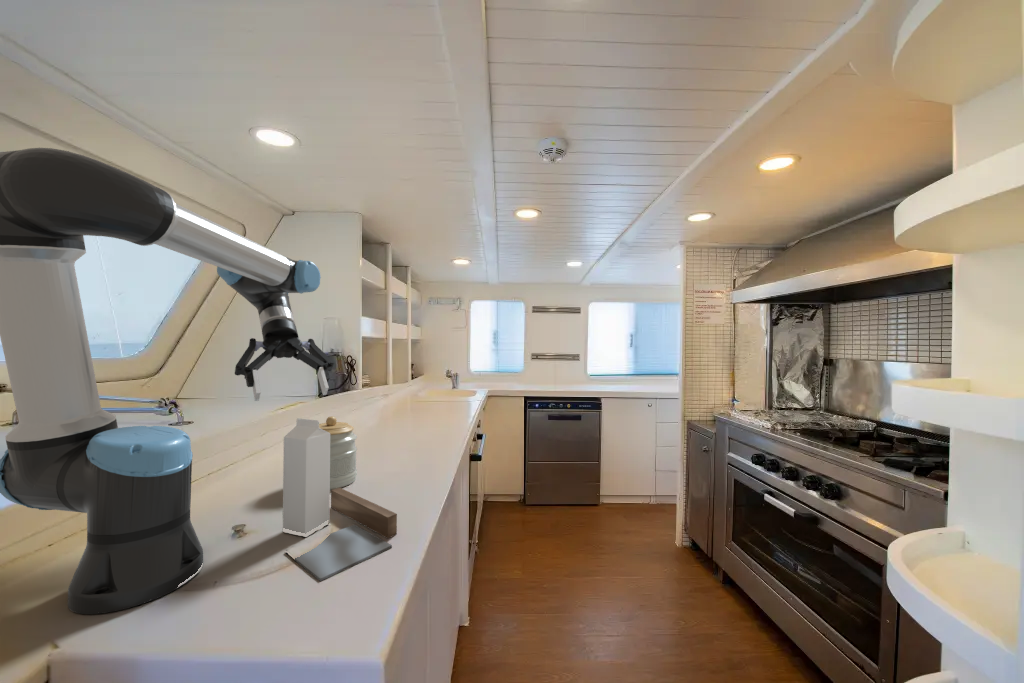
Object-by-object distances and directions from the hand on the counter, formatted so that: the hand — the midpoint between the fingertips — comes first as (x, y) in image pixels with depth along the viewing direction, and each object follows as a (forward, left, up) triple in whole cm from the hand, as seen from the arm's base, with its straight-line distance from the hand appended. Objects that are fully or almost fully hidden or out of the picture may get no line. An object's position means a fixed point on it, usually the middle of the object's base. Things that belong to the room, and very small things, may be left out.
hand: (293, 394), depth 87 cm
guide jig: (0, -18, -26) cm, 32 cm away
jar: (+14, +10, -26) cm, 31 cm away
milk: (-2, -12, -26) cm, 29 cm away
